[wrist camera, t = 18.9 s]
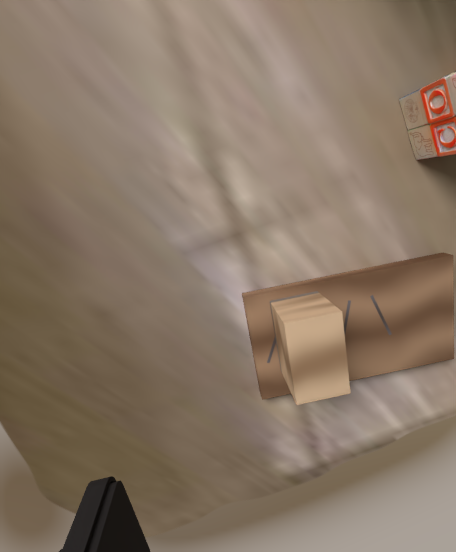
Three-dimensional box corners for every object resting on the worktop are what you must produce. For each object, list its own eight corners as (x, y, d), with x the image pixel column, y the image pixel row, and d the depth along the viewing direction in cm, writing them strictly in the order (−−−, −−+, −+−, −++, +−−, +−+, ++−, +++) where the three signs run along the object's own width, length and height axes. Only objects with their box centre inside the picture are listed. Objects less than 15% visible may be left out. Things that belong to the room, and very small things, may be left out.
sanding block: (269, 300, 33) (283, 323, 27) (317, 291, 33) (342, 311, 27) (280, 370, 35) (296, 405, 29) (325, 360, 35) (350, 393, 29)
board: (241, 293, 34) (243, 297, 32) (442, 252, 34) (453, 255, 33) (259, 391, 37) (262, 399, 35) (444, 352, 37) (454, 358, 36)
